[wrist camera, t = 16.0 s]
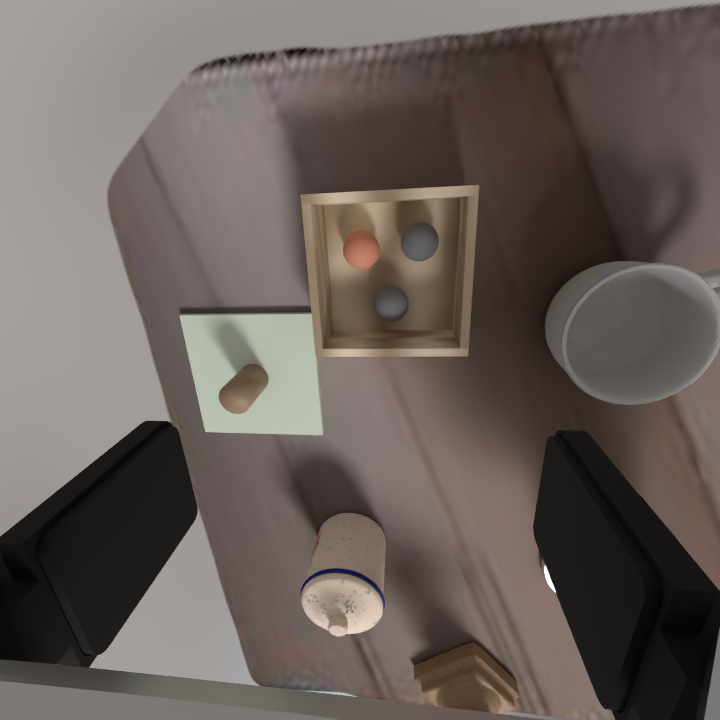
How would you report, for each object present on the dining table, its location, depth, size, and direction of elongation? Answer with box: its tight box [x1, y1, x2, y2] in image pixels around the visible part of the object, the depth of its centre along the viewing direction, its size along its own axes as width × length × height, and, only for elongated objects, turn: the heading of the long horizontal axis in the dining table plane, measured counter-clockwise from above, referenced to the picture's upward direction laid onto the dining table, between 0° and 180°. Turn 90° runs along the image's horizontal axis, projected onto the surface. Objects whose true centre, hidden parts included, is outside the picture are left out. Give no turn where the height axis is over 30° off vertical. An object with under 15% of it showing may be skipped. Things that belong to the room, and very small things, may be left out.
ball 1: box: [343, 231, 380, 269], centre depth 33 cm, size 3×3×3 cm
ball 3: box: [401, 222, 439, 262], centre depth 32 cm, size 3×3×3 cm
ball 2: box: [373, 286, 409, 322], centre depth 34 cm, size 3×3×3 cm
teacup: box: [545, 261, 720, 405], centre depth 31 cm, size 14×11×8 cm
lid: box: [180, 312, 324, 435], centre depth 39 cm, size 14×14×6 cm
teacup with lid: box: [301, 513, 386, 636], centre depth 43 cm, size 12×9×12 cm
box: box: [300, 185, 479, 357], centre depth 32 cm, size 13×13×6 cm
